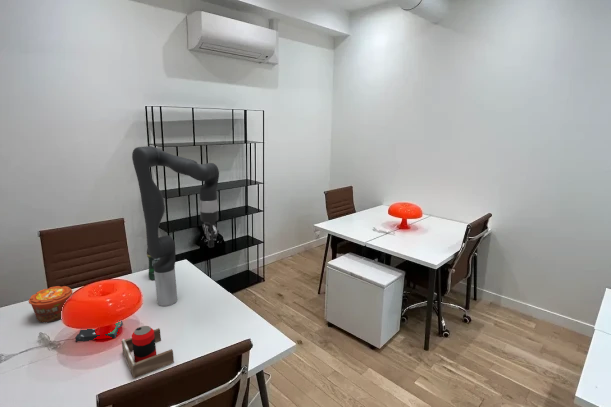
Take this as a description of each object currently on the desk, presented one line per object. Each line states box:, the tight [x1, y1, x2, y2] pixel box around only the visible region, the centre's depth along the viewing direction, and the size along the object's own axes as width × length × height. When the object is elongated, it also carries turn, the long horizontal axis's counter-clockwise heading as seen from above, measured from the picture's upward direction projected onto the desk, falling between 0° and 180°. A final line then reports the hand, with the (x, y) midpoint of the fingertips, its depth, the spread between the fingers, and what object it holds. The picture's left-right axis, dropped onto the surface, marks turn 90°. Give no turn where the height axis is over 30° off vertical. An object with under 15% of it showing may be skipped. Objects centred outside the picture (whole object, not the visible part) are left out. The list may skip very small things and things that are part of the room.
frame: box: [121, 327, 175, 379], centre depth 131 cm, size 17×14×6 cm
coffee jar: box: [146, 247, 160, 281], centre depth 194 cm, size 10×8×19 cm
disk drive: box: [75, 320, 124, 342], centre depth 145 cm, size 10×3×15 cm
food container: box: [28, 285, 73, 323], centre depth 157 cm, size 16×16×11 cm
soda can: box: [131, 325, 157, 363], centre depth 129 cm, size 8×8×12 cm
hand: (211, 247), depth 155 cm, fingers closed
